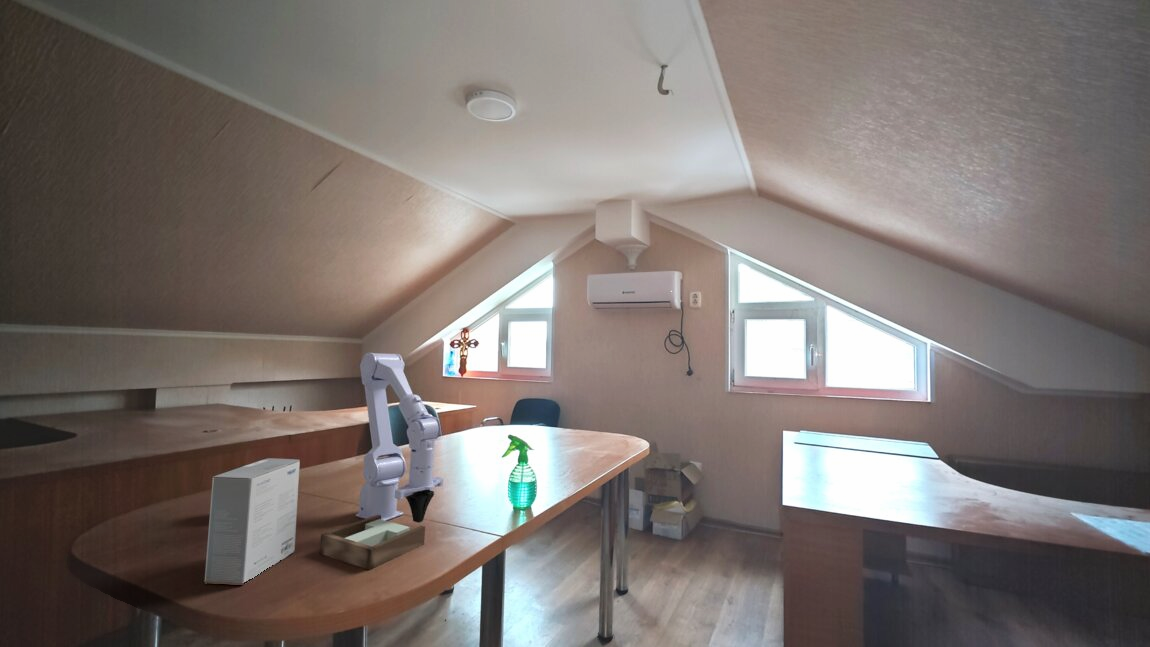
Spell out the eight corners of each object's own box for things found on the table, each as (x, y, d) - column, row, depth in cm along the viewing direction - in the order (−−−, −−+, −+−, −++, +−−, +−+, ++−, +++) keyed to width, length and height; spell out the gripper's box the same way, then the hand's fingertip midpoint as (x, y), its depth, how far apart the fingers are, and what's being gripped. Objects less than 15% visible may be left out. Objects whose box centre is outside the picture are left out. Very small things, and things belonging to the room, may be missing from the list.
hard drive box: (261, 550, 101) (269, 457, 102) (295, 552, 100) (302, 459, 102) (201, 585, 85) (211, 475, 87) (241, 587, 85) (251, 477, 86)
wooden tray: (319, 553, 100) (320, 534, 100) (376, 531, 114) (377, 514, 114) (369, 570, 93) (370, 549, 94) (424, 544, 107) (425, 526, 107)
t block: (333, 554, 100) (334, 535, 100) (378, 536, 111) (379, 519, 111) (365, 564, 96) (366, 545, 96) (409, 544, 106) (410, 527, 107)
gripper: (411, 474, 109) (407, 533, 108) (453, 463, 122) (450, 515, 121) (390, 470, 112) (386, 527, 111) (432, 459, 125) (429, 510, 124)
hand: (417, 521), depth 116 cm, fingers closed
